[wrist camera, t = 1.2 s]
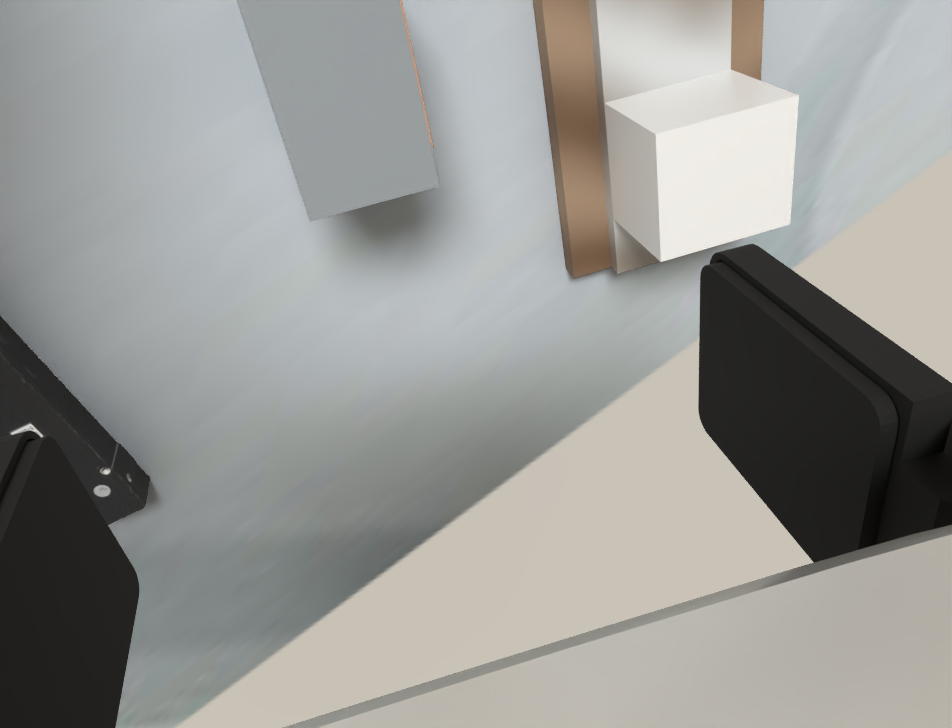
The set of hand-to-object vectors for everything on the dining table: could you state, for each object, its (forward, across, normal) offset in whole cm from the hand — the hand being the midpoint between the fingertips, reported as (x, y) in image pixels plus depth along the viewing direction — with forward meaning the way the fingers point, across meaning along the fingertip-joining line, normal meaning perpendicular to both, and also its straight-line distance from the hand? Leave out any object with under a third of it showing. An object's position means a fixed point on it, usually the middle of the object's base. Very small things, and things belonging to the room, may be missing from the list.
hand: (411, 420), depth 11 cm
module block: (+24, -1, -1) cm, 24 cm away
